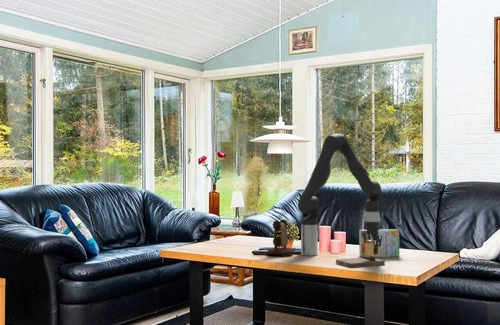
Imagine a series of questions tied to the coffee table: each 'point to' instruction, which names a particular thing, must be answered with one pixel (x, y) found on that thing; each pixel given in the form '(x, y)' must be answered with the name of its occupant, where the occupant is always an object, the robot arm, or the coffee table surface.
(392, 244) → the snack box
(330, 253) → the coffee table surface
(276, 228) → the brown upright piece
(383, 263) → the board
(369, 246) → the tan wooden block
